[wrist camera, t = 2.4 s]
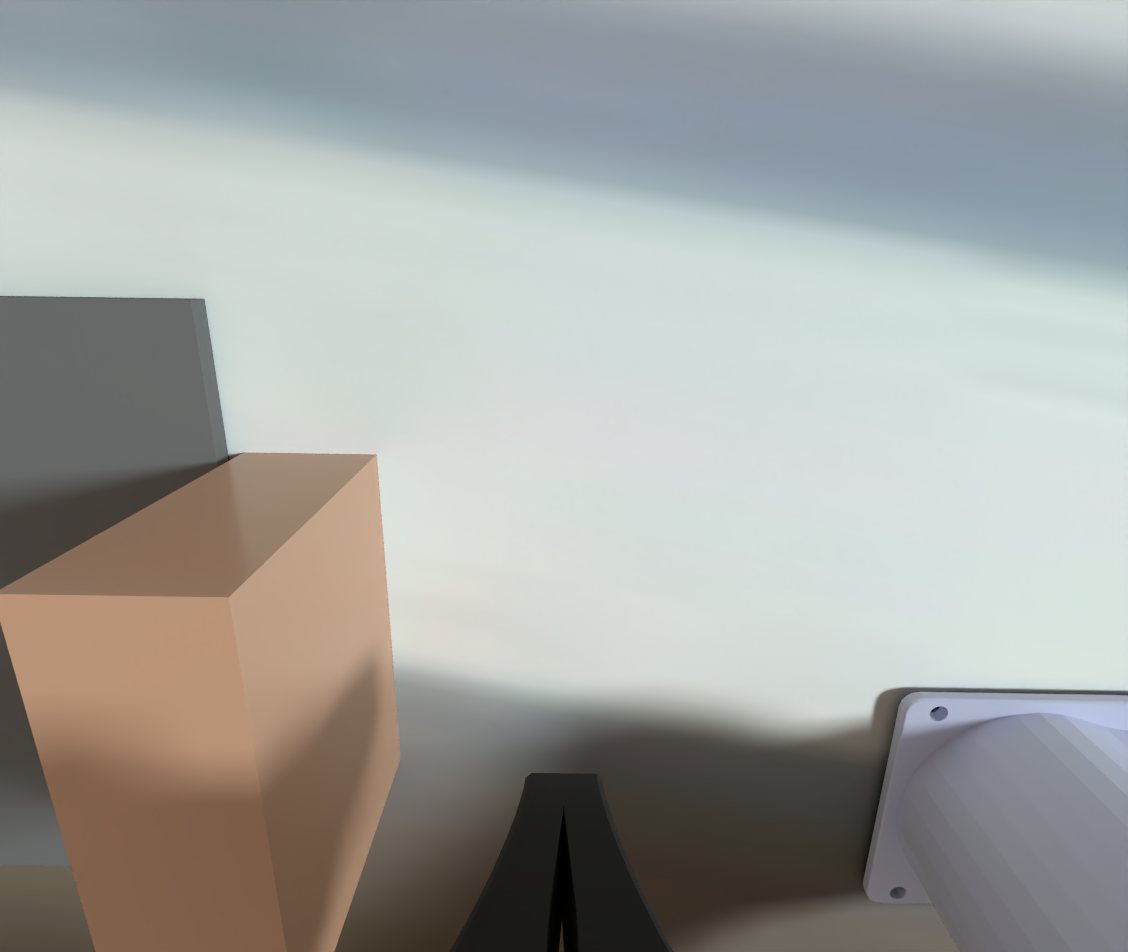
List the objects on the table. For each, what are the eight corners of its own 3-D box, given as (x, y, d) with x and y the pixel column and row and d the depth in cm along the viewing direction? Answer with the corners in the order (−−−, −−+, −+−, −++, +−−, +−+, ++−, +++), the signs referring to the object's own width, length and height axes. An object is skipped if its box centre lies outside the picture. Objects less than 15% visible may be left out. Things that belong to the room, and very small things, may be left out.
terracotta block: (377, 453, 17) (229, 596, 10) (401, 756, 20) (301, 1045, 13) (244, 451, 17) (-9, 594, 10) (288, 754, 20) (122, 1043, 13)
